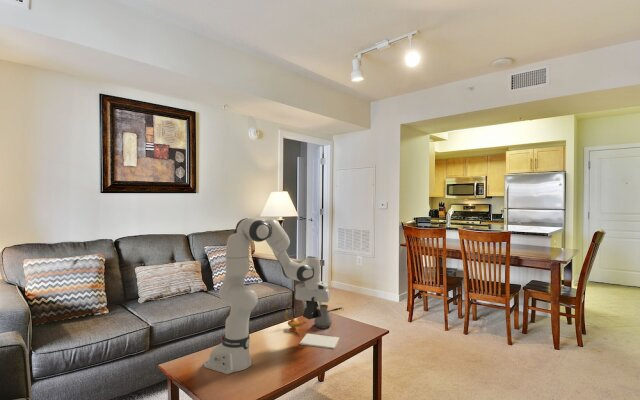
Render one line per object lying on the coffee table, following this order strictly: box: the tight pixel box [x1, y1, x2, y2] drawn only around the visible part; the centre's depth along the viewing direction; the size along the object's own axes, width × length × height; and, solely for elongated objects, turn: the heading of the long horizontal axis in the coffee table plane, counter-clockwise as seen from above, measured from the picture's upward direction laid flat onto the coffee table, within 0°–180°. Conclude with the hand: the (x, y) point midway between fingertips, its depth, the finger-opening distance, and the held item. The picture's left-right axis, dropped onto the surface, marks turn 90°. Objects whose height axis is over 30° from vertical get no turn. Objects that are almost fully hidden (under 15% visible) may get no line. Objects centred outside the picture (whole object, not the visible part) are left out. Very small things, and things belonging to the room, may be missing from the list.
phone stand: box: [302, 297, 321, 320], centre depth 193 cm, size 9×6×12 cm, turn 126°
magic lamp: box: [284, 309, 308, 332], centre depth 208 cm, size 7×18×11 cm, turn 54°
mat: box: [299, 333, 341, 350], centre depth 191 cm, size 20×14×1 cm
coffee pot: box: [313, 303, 344, 329], centre depth 213 cm, size 21×12×15 cm, turn 50°
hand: (312, 308), depth 193 cm, fingers closed on phone stand, 6 cm apart
